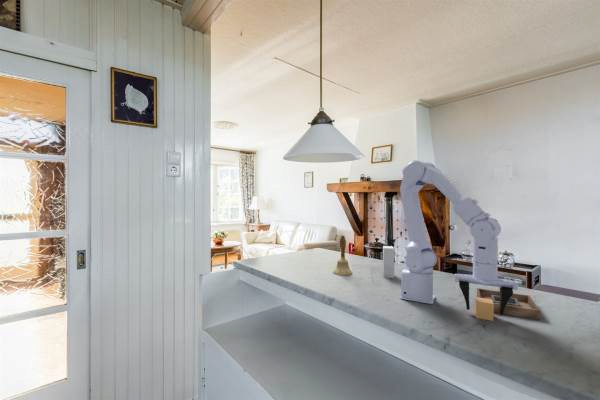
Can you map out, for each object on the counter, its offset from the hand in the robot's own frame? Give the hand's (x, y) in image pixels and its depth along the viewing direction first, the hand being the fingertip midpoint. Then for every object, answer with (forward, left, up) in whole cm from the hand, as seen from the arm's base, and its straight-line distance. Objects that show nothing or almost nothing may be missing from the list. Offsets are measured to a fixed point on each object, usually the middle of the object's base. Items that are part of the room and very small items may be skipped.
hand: (484, 311), depth 80 cm
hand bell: (-50, +23, -2) cm, 55 cm away
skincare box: (-32, +28, -2) cm, 43 cm away
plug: (0, 0, -2) cm, 2 cm away
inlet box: (+6, +12, -1) cm, 13 cm away
